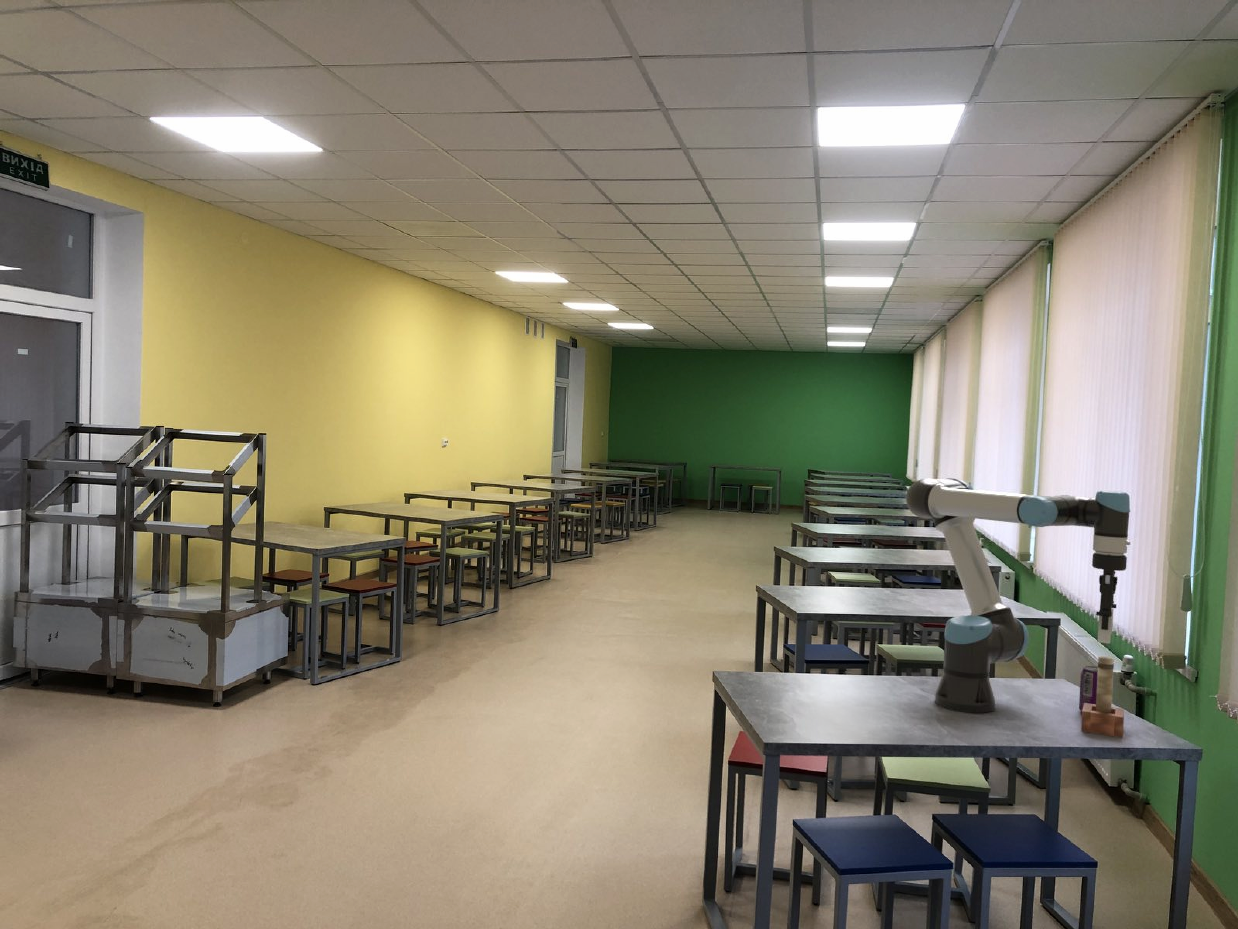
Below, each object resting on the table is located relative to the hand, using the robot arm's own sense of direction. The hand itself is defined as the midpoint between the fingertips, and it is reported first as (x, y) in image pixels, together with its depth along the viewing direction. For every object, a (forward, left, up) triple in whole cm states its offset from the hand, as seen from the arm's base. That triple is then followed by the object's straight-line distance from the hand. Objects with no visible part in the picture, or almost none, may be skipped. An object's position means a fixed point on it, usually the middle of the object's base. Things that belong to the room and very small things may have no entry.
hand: (1104, 638), depth 230 cm
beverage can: (-2, +15, -23) cm, 28 cm away
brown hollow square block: (0, 0, -23) cm, 23 cm away
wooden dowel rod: (0, 0, -23) cm, 23 cm away
